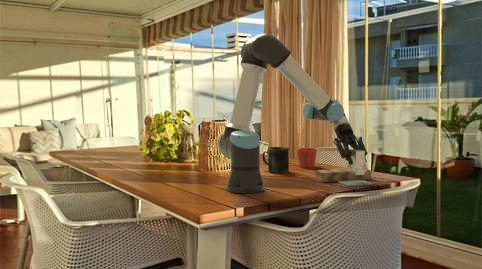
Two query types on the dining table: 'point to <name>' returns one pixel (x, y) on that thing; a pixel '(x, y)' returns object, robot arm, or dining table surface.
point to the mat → (355, 183)
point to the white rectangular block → (358, 161)
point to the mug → (277, 159)
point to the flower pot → (306, 157)
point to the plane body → (339, 175)
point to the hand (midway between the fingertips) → (361, 169)
